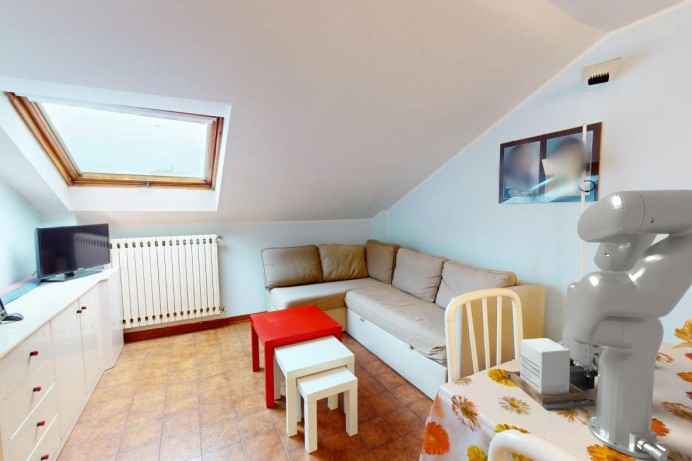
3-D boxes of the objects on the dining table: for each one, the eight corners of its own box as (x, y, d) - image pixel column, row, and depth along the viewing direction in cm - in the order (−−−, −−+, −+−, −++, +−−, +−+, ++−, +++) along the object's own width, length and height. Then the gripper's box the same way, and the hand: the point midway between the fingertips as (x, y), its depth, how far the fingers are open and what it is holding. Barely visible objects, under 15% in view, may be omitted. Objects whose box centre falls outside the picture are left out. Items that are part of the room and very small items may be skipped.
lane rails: (595, 406, 83) (595, 401, 83) (546, 410, 81) (546, 405, 81) (548, 374, 100) (548, 370, 100) (506, 377, 98) (506, 373, 98)
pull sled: (605, 400, 85) (606, 380, 85) (542, 406, 83) (543, 385, 83) (564, 375, 99) (565, 357, 98) (509, 379, 96) (510, 361, 96)
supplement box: (545, 383, 94) (547, 337, 94) (569, 401, 86) (571, 350, 85) (518, 385, 93) (520, 338, 92) (540, 403, 84) (542, 351, 84)
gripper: (621, 335, 83) (618, 398, 84) (568, 314, 100) (565, 367, 101) (597, 336, 82) (594, 400, 83) (547, 315, 99) (545, 368, 100)
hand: (578, 381), depth 92 cm, fingers open, 5 cm apart
